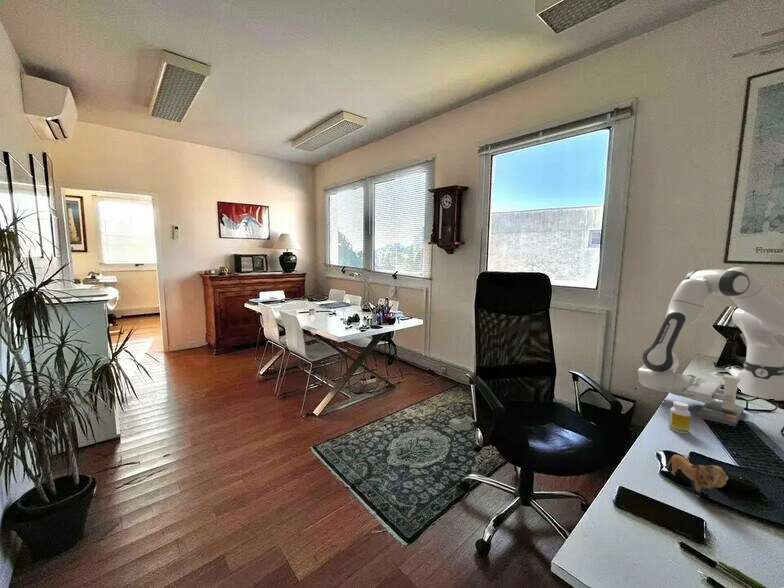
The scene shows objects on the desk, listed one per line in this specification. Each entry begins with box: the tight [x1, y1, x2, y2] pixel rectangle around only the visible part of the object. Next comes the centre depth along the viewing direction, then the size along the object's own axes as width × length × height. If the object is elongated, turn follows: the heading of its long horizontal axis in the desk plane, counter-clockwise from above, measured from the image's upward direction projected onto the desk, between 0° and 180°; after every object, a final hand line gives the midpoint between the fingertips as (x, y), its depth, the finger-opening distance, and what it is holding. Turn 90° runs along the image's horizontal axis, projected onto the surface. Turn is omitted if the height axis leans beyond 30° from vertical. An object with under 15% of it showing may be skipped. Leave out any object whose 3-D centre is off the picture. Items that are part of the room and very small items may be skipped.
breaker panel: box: [697, 399, 745, 427], centre depth 128 cm, size 20×10×2 cm, turn 127°
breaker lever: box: [722, 374, 740, 413], centre depth 126 cm, size 4×4×13 cm
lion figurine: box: [659, 454, 729, 498], centre depth 87 cm, size 15×5×9 cm, turn 17°
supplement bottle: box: [668, 400, 691, 434], centre depth 116 cm, size 5×5×10 cm
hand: (732, 397), depth 125 cm, fingers closed on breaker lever, 3 cm apart
